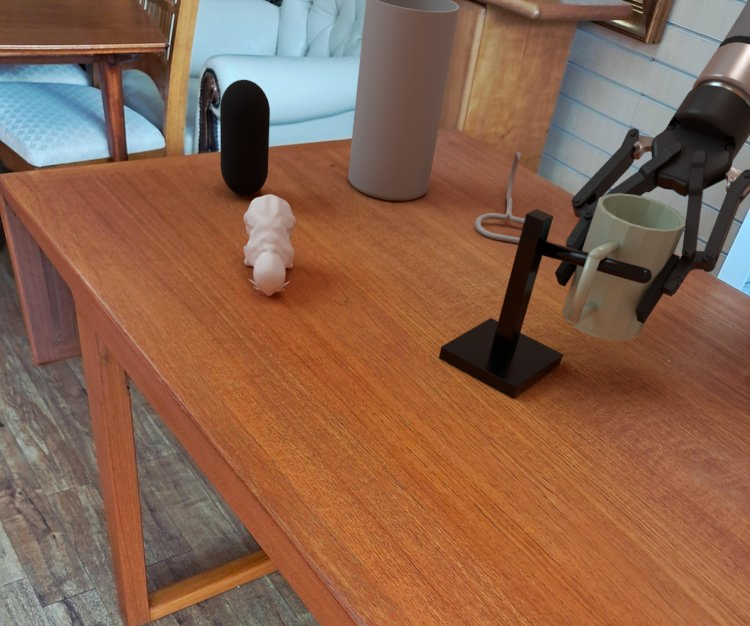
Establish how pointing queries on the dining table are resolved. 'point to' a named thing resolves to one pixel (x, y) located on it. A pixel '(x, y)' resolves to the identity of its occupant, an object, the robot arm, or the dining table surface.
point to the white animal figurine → (269, 242)
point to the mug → (626, 244)
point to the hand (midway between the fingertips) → (598, 297)
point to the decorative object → (244, 137)
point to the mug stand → (522, 316)
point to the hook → (508, 212)
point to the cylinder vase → (400, 95)
